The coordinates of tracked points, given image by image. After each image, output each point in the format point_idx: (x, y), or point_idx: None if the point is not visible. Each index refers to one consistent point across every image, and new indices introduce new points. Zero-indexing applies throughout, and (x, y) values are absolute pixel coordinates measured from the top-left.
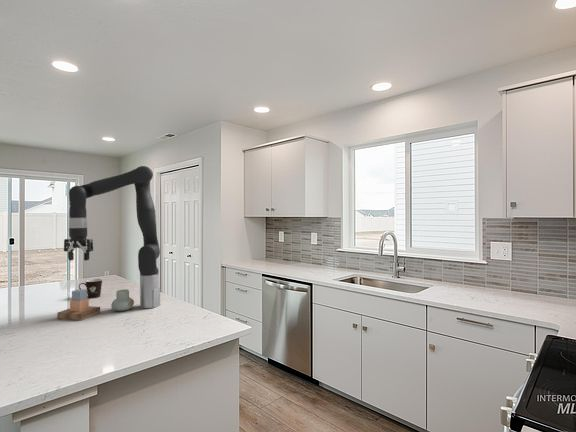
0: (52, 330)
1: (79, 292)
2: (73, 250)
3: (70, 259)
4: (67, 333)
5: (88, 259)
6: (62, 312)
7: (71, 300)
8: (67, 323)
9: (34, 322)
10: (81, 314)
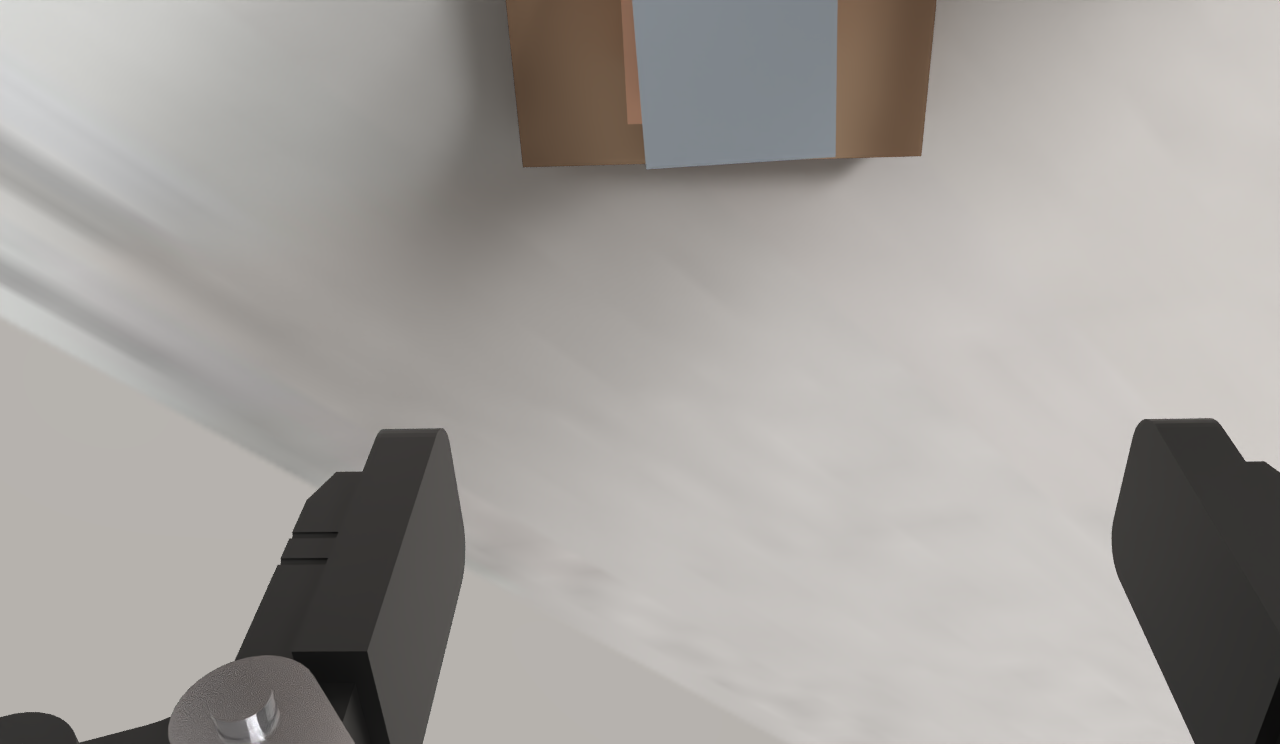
0: (831, 436)
1: (817, 150)
2: (346, 742)
3: (455, 556)
4: (1053, 469)
5: (1211, 431)
6: (585, 144)
7: (640, 103)
8: (811, 243)
9: (386, 288)
10: (920, 149)
